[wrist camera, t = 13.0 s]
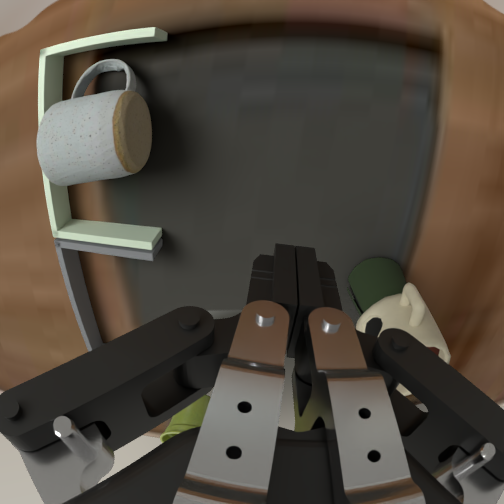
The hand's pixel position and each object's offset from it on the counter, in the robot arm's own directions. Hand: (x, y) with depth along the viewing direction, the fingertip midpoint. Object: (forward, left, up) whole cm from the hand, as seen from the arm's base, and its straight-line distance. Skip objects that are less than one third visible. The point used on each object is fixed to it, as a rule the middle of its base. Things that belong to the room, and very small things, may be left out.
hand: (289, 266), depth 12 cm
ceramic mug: (+16, -4, -16) cm, 23 cm away
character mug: (-12, +10, -16) cm, 22 cm away
